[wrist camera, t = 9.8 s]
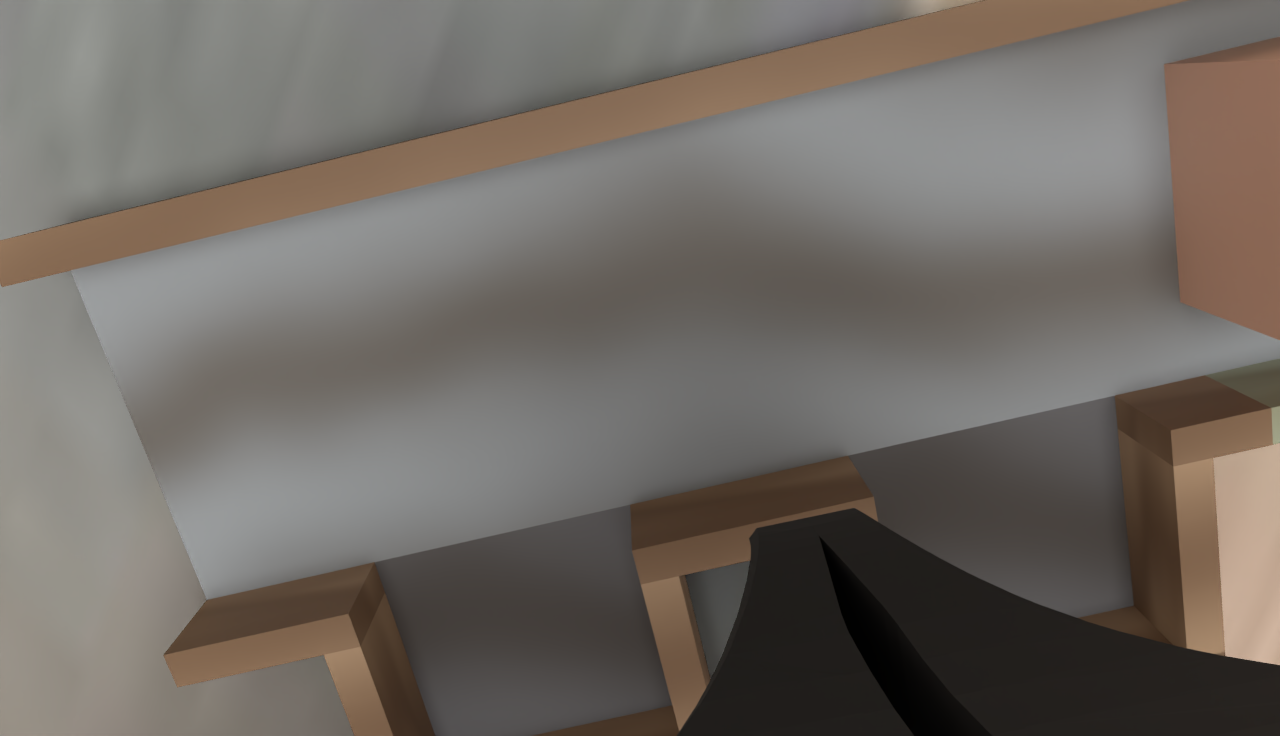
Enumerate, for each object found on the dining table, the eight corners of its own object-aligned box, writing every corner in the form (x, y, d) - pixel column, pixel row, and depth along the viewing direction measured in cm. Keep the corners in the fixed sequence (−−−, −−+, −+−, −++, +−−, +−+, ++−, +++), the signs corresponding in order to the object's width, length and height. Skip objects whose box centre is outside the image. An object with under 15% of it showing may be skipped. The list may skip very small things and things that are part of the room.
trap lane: (1447, 553, 23) (1553, 613, 20) (302, 800, 24) (264, 886, 21) (1459, -116, 19) (1595, -148, 16) (66, 224, 20) (-17, 244, 17)
